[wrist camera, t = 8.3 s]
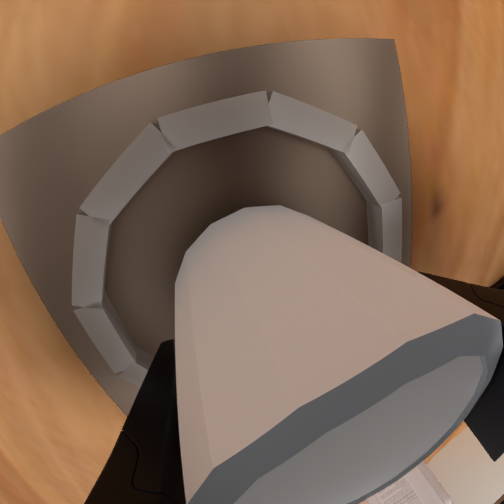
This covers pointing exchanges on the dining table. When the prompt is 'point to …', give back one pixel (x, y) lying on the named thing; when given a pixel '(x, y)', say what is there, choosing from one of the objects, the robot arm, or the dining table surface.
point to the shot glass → (315, 363)
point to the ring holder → (198, 180)
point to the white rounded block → (413, 489)
